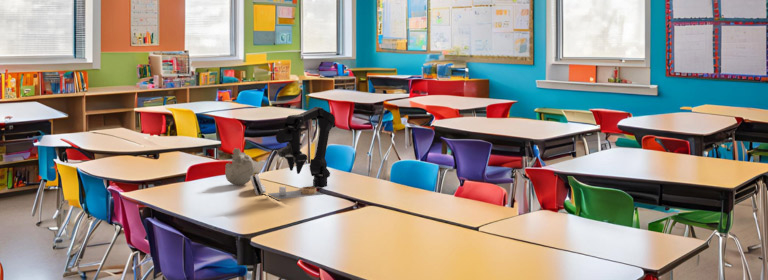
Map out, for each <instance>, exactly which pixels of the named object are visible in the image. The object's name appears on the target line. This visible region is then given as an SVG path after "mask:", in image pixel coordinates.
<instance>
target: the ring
mask: <svg viewBox="0 0 768 280" xmlns="http://www.w3.org/2000/svg"><path fill="white" fill-rule="evenodd" d="M300 190H301V193H303V194H315V193H316V191H317V187H314V186H303V187H301V188H300Z"/></svg>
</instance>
